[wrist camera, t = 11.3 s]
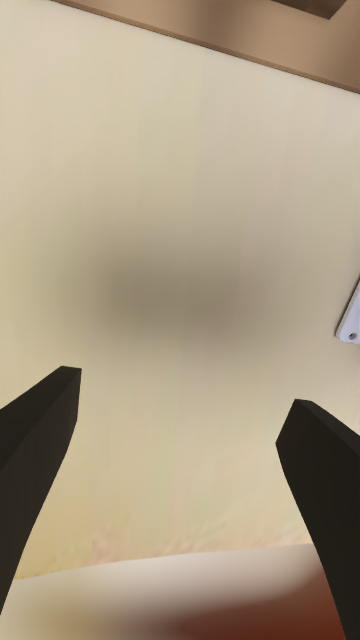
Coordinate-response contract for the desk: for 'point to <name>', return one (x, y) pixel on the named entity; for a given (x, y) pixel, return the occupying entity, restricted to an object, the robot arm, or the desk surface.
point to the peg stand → (256, 31)
